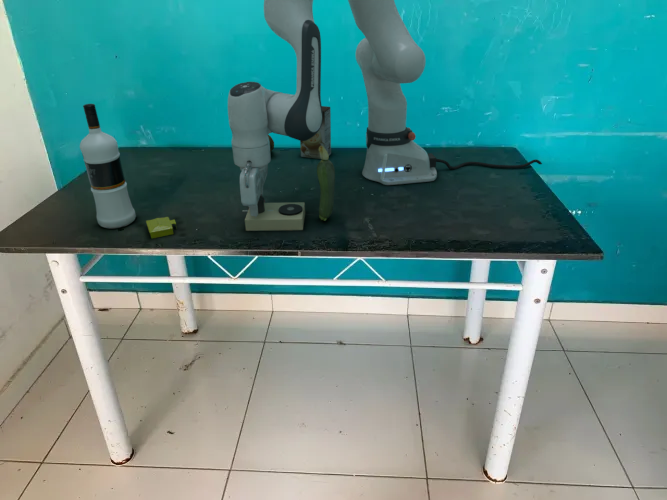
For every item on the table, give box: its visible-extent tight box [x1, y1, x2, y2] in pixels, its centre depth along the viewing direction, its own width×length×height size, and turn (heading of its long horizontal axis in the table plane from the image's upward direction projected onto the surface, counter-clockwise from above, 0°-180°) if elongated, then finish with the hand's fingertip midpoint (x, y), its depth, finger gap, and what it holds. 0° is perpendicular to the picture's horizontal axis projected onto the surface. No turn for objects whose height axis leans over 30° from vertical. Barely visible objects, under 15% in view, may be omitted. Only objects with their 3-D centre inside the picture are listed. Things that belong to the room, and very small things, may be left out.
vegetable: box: [316, 146, 336, 222], centre depth 127 cm, size 4×4×20 cm
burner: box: [279, 204, 303, 216], centre depth 131 cm, size 6×6×1 cm
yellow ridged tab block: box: [141, 216, 182, 239], centre depth 129 cm, size 10×9×3 cm
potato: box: [268, 134, 275, 153], centre depth 176 cm, size 8×13×8 cm, turn 1°
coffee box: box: [299, 105, 332, 160], centre depth 172 cm, size 9×6×16 cm
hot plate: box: [241, 201, 306, 232], centre depth 132 cm, size 15×10×3 cm, turn 89°
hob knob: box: [257, 195, 265, 214], centre depth 130 cm, size 4×4×4 cm
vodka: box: [79, 103, 137, 230], centre depth 127 cm, size 9×9×30 cm
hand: (257, 207), depth 131 cm, fingers open, 7 cm apart
